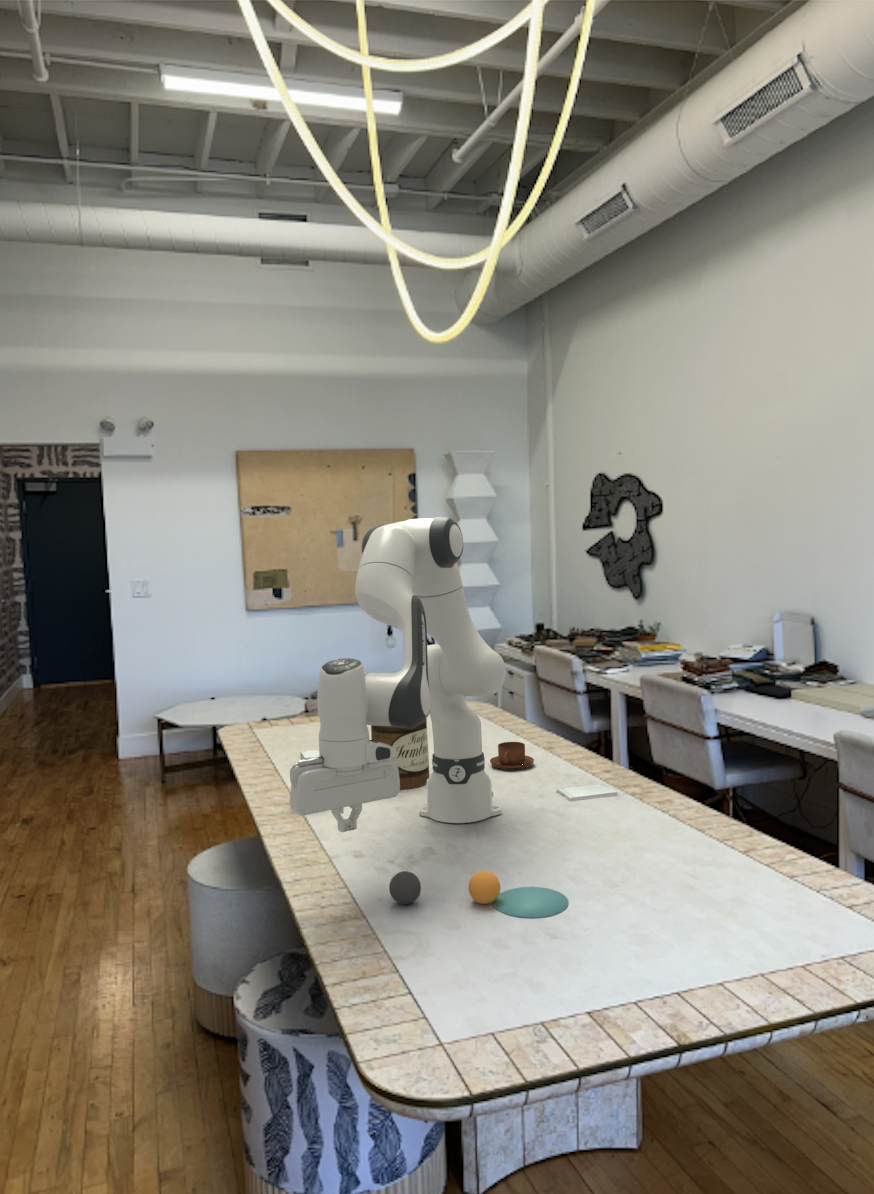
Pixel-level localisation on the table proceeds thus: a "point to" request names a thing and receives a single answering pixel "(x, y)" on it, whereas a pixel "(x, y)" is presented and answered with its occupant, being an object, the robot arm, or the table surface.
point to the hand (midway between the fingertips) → (347, 830)
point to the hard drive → (586, 792)
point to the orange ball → (484, 887)
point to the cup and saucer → (511, 756)
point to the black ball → (405, 887)
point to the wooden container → (407, 752)
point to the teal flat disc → (531, 902)
